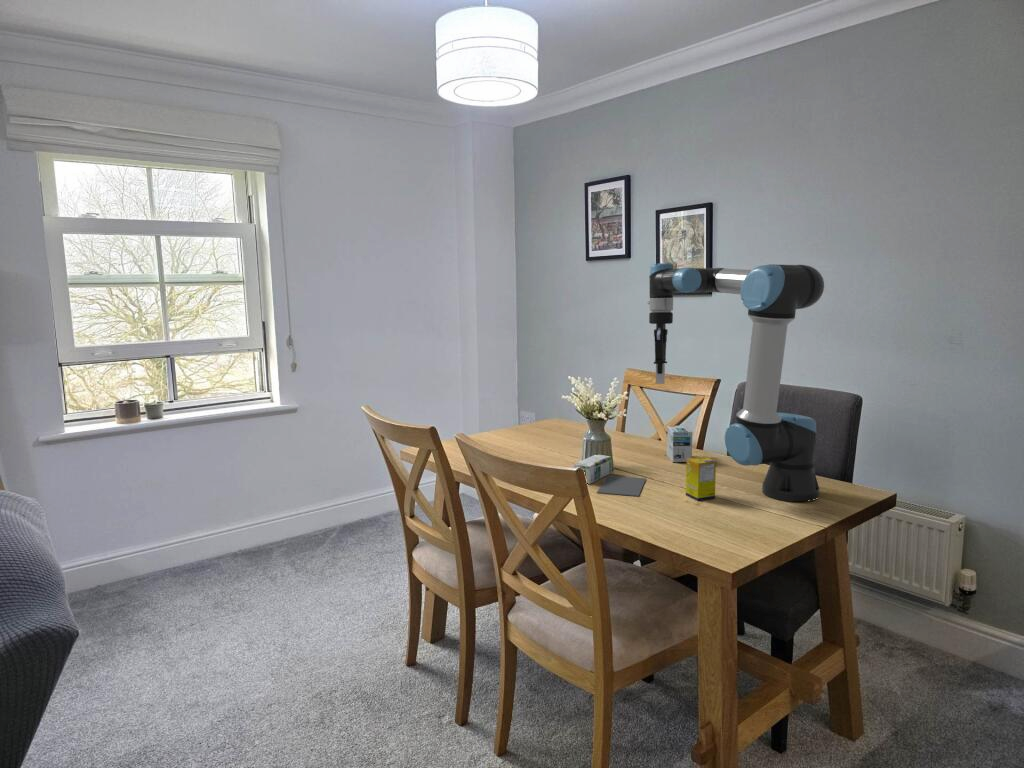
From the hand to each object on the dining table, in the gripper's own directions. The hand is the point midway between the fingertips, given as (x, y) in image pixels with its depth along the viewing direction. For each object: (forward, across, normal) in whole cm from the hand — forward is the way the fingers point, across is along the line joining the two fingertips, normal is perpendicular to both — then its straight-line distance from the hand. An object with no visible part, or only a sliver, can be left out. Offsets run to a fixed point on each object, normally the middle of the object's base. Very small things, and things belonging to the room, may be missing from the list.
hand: (660, 383), depth 224 cm
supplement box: (+29, +32, +16) cm, 46 cm away
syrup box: (+25, +15, -16) cm, 33 cm away
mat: (+28, +28, -7) cm, 41 cm away
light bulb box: (+27, -9, +5) cm, 29 cm away
